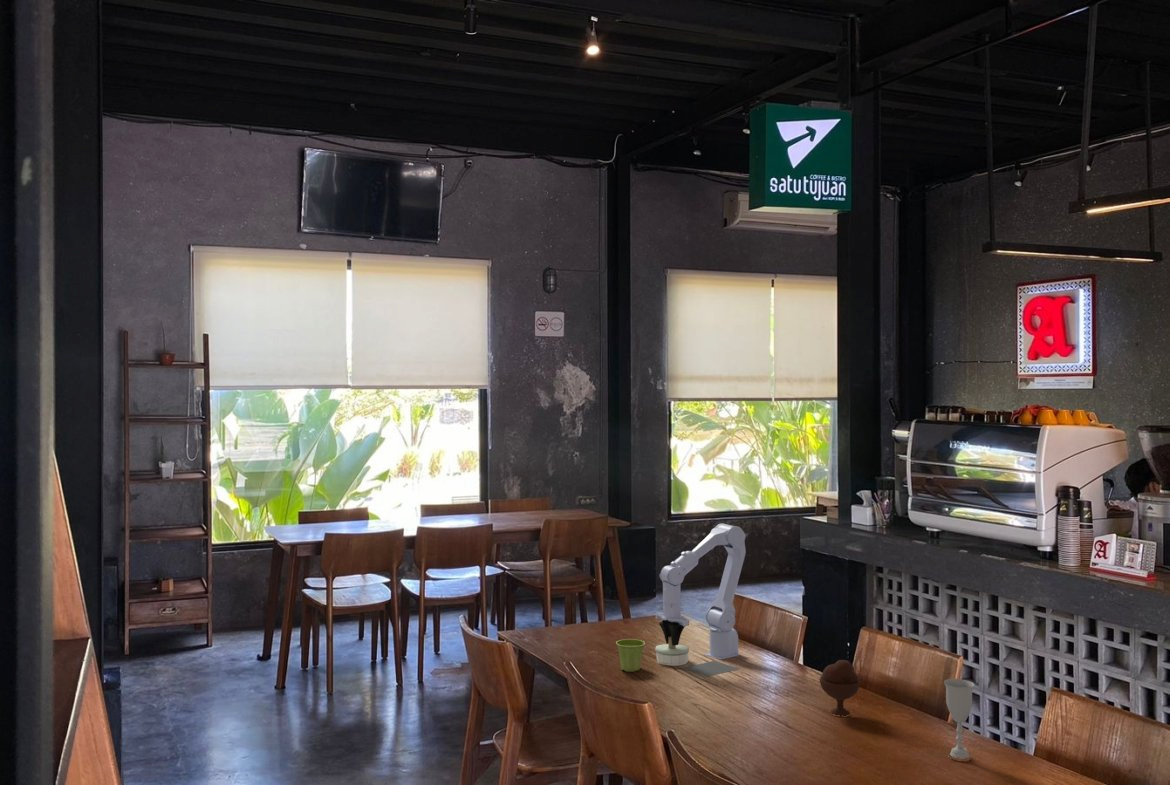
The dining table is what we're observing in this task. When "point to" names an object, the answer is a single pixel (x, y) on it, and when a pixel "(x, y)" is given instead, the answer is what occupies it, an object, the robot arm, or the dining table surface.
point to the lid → (671, 648)
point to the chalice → (959, 709)
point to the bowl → (672, 659)
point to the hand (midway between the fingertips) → (672, 644)
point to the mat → (710, 668)
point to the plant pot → (630, 654)
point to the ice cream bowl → (840, 684)
